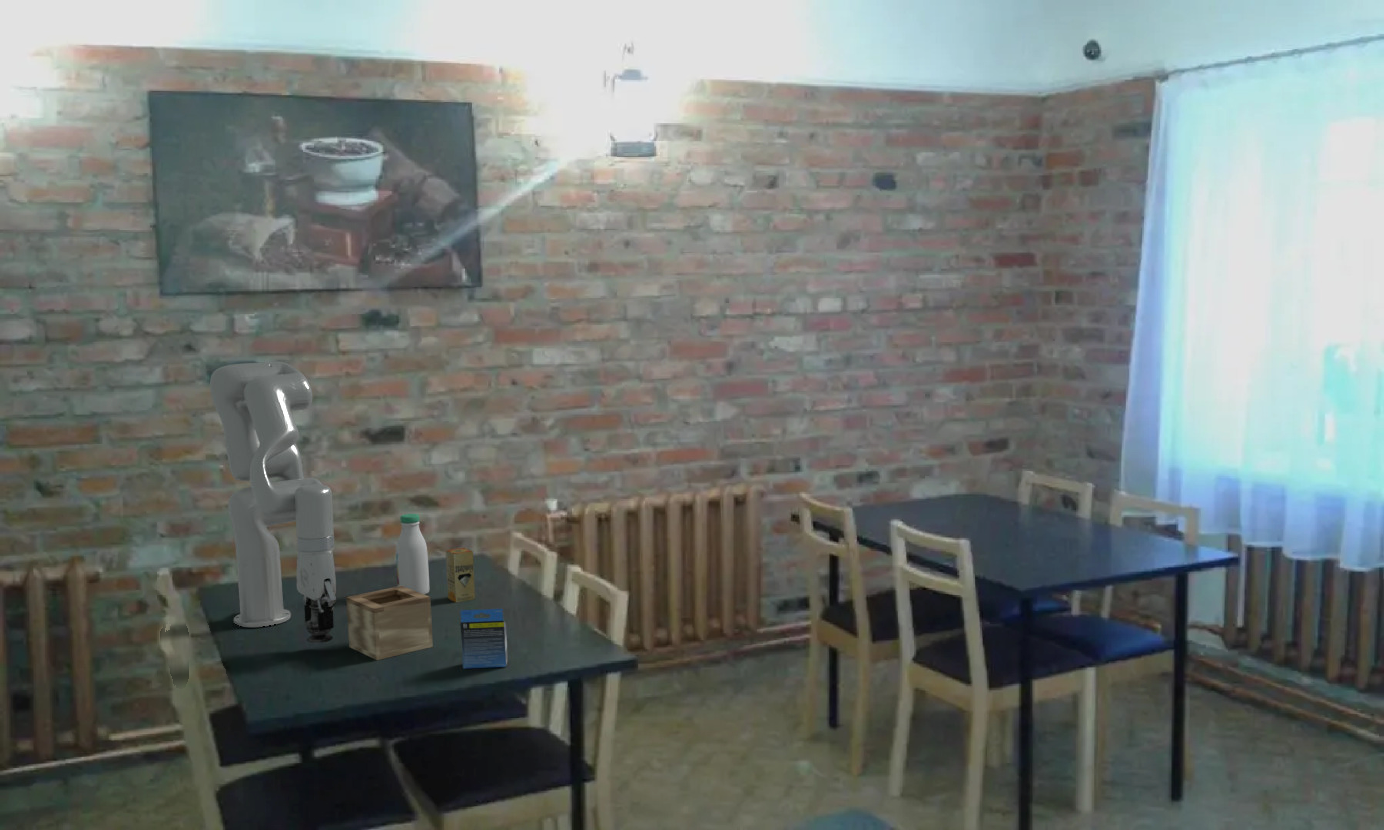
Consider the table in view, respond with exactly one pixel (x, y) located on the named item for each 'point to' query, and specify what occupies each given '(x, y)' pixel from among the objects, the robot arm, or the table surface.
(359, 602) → the box
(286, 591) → the table surface
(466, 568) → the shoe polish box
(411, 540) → the milk bottle
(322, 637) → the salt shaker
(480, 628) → the label tape cartridge
